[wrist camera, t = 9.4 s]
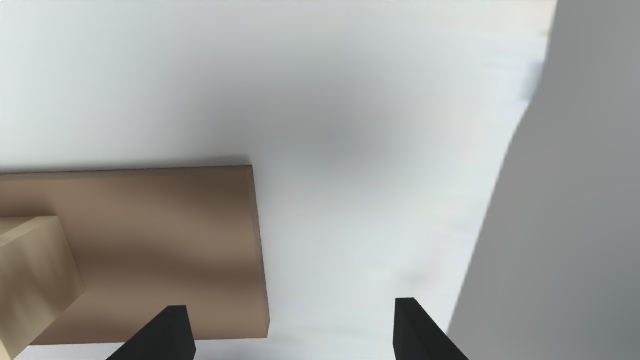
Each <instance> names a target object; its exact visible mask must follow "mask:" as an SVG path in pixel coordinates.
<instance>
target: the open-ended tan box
mask: <svg viewBox="0 0 640 360" xmlns="http://www.w3.org/2000/svg"><path fill="white" fill-rule="evenodd" d="M84 292H85V289H84V286H83V283H82V280H81V278H80V275H79V272H78V269H77V267H76V264H75V261H74V259H73V256H72V253H71V250H70V248H69V245H68V242H67V239H66V237H65V234H64V231H63V229H62V226H61V223H60V220H59V218H58V216H32V217H6V218H0V360H13V359H14V358H15V357H16V356H17V355H18V354H19V353H20V352H21V351H22V350H24V349H25V348H26V347H27V346H28V345H29V344H30V343H31V342H32V341H33V340H34V339H35V338H36V337H37V336H38V335H39V334H40V333H42V332H43V331H44V330H45V329H46V328H47V327H48V326H49V325H50V324H51V323H52V322H53V321H54V320H55V319H56V318H57V317H58V316H60V315H61V314H62V313H63V312H64V311H65V310H66V309H67V308H68V307H69V306H70V305H71V304H72V303H73V302H74V301H75V300H76V299H78V298H79V297H80V296H81V295H82V294H83V293H84Z"/></svg>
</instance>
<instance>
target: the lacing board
mask: <svg viewBox="0 0 640 360" xmlns="http://www.w3.org/2000/svg"><path fill="white" fill-rule="evenodd" d="M32 216H58V218H59V220H60V223H61V226H62V229H63V231H64V234H65V237H66V239H67V242H68V245H69V248H70V250H71V253H72V256H73V259H74V261H75V264H76V267H77V269H78V272H79V275H80V278H81V280H82V283H83V286H84V289H85V292H84V293H83V294H82V295H81V296H80V297H79V298H78V299H76V300H75V301H74V302H73V303H72V304H71V305H70V306H69V307H68V308H67V309H66V310H65V311H64V312H63V313H62V314H61V315H60V316H58V317H57V318H56V319H55V320H54V321H53V322H52V323H51V324H50V325H49V326H48V327H47V328H46V329H45V330H44V331H43V332H42V333H40V334H39V335H38V336H37V337H36V338H35V339H34V340H33V341H32V342H31V343H30V344H29V345H54V344H86V343H117V342H127V341H128V340H129V339H130V338H131V337H133V336H134V335H135V334H136V333H137V332H138V331H139V330H140V329H142V328H143V327H144V326H145V325H146V324H147V323H148V322H149V321H151V320H152V319H153V318H154V317H155V316H156V315H157V314H159V313H160V312H161V311H162V310H163V309H165V308H166V307H167V306H168V305H186V308H187V313H188V317H189V321H190V326H191V330H192V334H193V339H194V340H210V339H242V338H267V333H268V328H269V323H270V318H269V309H268V300H267V292H266V283H265V274H264V266H263V257H262V248H261V240H260V231H259V222H258V213H257V205H256V196H255V187H254V179H253V170H252V165H240V166H212V167H183V168H155V169H126V170H98V171H69V172H41V173H12V174H0V218H6V217H32Z"/></svg>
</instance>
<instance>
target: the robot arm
mask: <svg viewBox="0 0 640 360" xmlns="http://www.w3.org/2000/svg"><path fill="white" fill-rule="evenodd" d="M393 348H394V353H395V357H396V360H469V359H468V358H467V357H466V356H465V355H464V354H463V353H462V352H461V351H460V350H459V349H458V348H457V347H456V346H455V344H454V343H453V342H452V341H451V340H450V339H449V338H448V337H447V336H446V335H445V334H444V332H443V331H442V330H441V329H440V328H439V327H438V326H437V324H436V323H435V322H434V321H433V320H432V319H431V317H430V316H429V315H428V314H427V313H426V311H425V310H424V309H423V308H422V307H421V305H420V304H419V303H418V302H417V300H416V299H414V298H413V297H412V298H395V314H394V331H393ZM195 352H196V347H195V343H194V339H193V334H192V330H191V326H190V321H189V317H188V313H187V308H186V305H168V306H167V307H166V308H165V309H163V310H162V311H161V312H160V313H159V314H157V315H156V316H155V317H154V318H153V319H152V320H151V321H149V322H148V323H147V324H146V325H145V326H144V327H143V328H142V329H140V330H139V331H138V332H137V333H136V334H135V335H134V336H133V337H131V338H130V339H129V340H128V341H127V342H126V343H124V344H123V345H122V346H121V347H120V348H119V349H118V350H116V351H115V352H114V353H113V354H112V355H111V356H109V357H108V358H107V359H106V360H193V359H194V355H195Z"/></svg>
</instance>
